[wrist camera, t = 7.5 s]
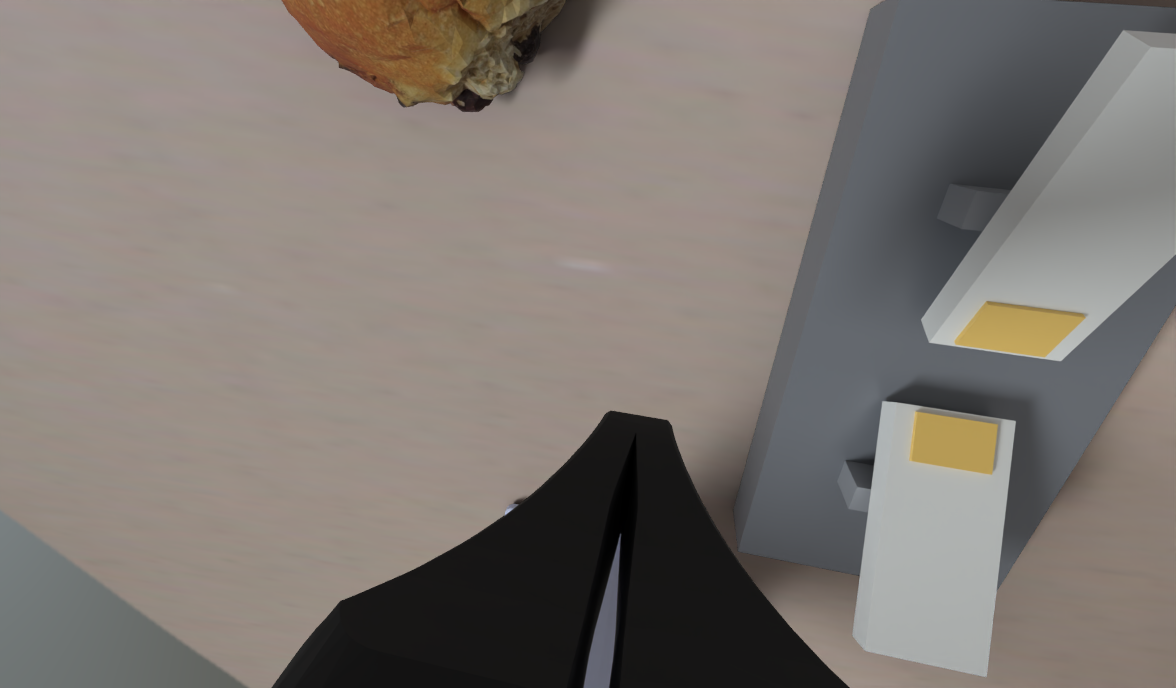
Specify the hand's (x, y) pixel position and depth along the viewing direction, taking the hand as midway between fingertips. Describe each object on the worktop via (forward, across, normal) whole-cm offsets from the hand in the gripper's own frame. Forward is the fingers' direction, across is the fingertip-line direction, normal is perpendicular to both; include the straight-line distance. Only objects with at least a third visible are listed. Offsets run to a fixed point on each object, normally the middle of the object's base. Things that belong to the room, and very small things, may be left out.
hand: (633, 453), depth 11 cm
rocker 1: (+5, -10, +5) cm, 12 cm away
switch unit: (+10, -10, 0) cm, 14 cm away
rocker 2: (+5, -10, -5) cm, 12 cm away
